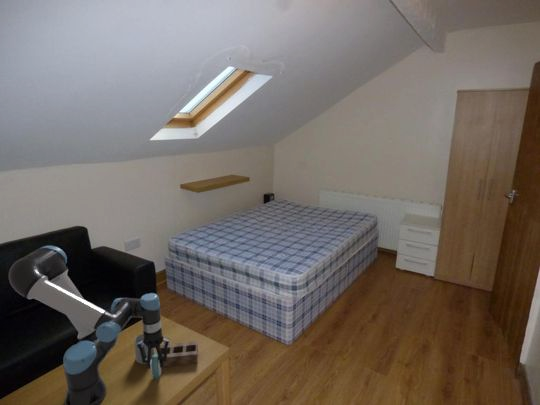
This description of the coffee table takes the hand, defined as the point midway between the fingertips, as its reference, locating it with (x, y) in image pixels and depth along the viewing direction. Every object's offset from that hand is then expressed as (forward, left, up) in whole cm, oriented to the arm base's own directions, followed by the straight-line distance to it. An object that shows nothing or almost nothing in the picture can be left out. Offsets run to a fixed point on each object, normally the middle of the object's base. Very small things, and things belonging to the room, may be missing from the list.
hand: (156, 373), depth 151 cm
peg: (0, 0, -2) cm, 2 cm away
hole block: (+9, +11, -2) cm, 14 cm away
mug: (-7, +15, -2) cm, 17 cm away
